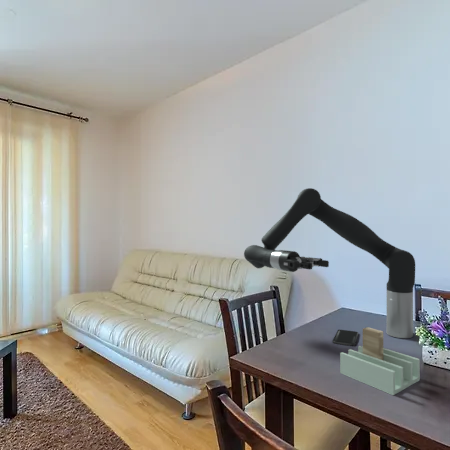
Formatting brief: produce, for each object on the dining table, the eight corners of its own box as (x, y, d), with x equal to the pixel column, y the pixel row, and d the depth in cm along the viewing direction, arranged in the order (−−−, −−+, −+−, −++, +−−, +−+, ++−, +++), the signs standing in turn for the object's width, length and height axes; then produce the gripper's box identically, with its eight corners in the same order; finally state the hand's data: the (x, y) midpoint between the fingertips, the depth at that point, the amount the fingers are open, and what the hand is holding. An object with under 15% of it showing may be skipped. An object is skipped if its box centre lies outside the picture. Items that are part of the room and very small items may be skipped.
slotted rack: (367, 361, 110) (367, 342, 110) (419, 380, 97) (419, 359, 97) (340, 373, 102) (340, 352, 102) (393, 395, 89) (393, 372, 89)
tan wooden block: (367, 366, 104) (367, 327, 104) (383, 372, 100) (383, 331, 100) (362, 369, 103) (362, 328, 102) (378, 375, 99) (378, 333, 98)
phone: (332, 341, 127) (338, 329, 140) (332, 344, 127) (338, 331, 140) (355, 344, 123) (358, 331, 137) (355, 347, 123) (358, 334, 137)
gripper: (270, 251, 125) (305, 255, 112) (298, 249, 134) (333, 252, 120) (271, 272, 125) (305, 278, 112) (298, 268, 134) (333, 274, 121)
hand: (319, 265), depth 116 cm, fingers open, 8 cm apart
